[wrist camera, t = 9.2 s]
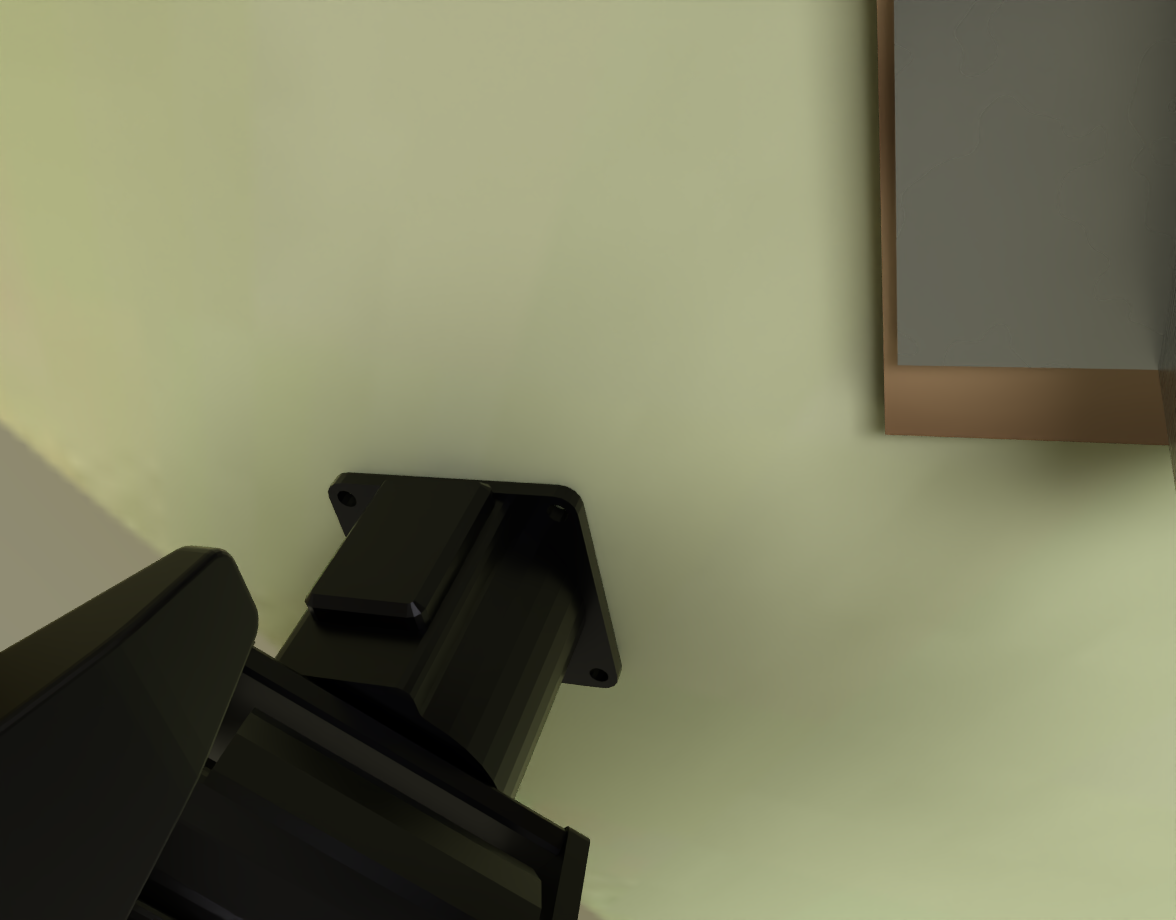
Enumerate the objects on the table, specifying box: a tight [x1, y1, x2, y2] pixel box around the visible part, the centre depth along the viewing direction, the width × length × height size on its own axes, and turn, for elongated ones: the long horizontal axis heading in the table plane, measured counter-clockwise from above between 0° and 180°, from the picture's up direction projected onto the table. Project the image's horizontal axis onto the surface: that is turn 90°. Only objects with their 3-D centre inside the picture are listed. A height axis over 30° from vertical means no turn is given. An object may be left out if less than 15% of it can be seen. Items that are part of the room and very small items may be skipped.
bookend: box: [894, 0, 1176, 489], centre depth 14 cm, size 9×7×4 cm
